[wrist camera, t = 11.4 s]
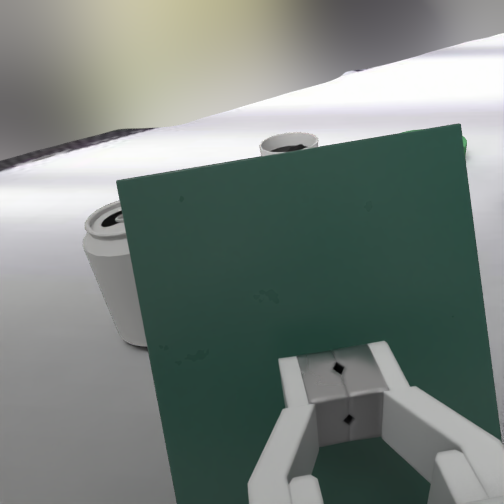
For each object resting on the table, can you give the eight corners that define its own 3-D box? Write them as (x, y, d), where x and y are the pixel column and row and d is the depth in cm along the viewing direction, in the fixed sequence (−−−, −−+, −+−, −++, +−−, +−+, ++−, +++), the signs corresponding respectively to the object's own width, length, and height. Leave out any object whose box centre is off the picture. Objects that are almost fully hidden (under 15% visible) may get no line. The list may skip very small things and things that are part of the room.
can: (153, 292, 45) (119, 188, 38) (214, 307, 42) (187, 195, 35) (104, 341, 40) (54, 229, 33) (168, 363, 36) (127, 243, 30)
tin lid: (121, 182, 14) (115, 180, 13) (450, 127, 14) (461, 122, 14) (197, 585, 15) (195, 603, 15) (503, 531, 15) (515, 546, 15)
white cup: (293, 202, 58) (286, 129, 52) (333, 215, 54) (330, 136, 48) (258, 223, 54) (247, 147, 49) (298, 238, 50) (290, 157, 45)
